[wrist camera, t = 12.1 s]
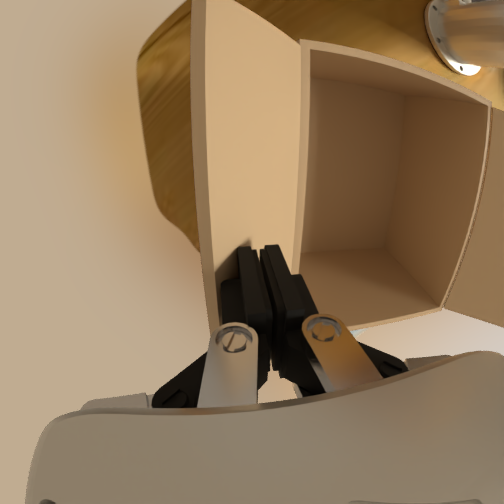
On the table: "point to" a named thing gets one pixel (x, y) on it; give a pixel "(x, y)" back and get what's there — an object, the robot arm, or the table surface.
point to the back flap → (485, 243)
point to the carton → (383, 183)
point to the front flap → (242, 138)
